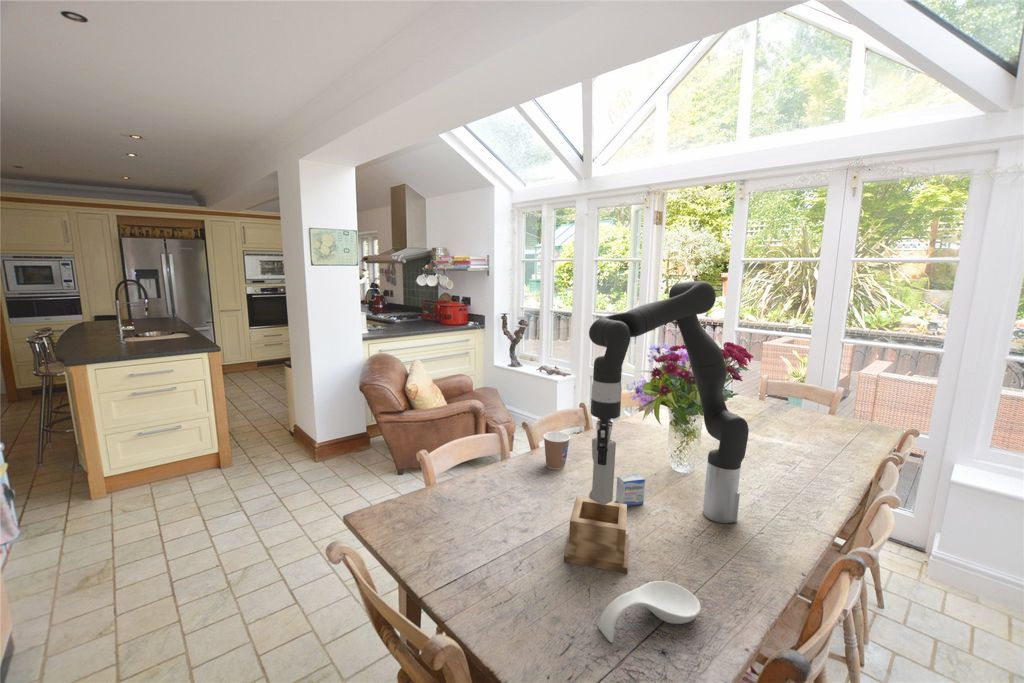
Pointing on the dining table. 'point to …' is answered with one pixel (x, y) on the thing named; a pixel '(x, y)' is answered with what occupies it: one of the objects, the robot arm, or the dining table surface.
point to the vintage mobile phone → (603, 474)
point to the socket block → (598, 535)
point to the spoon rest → (652, 605)
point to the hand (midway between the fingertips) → (602, 459)
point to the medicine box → (630, 490)
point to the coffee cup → (556, 449)
